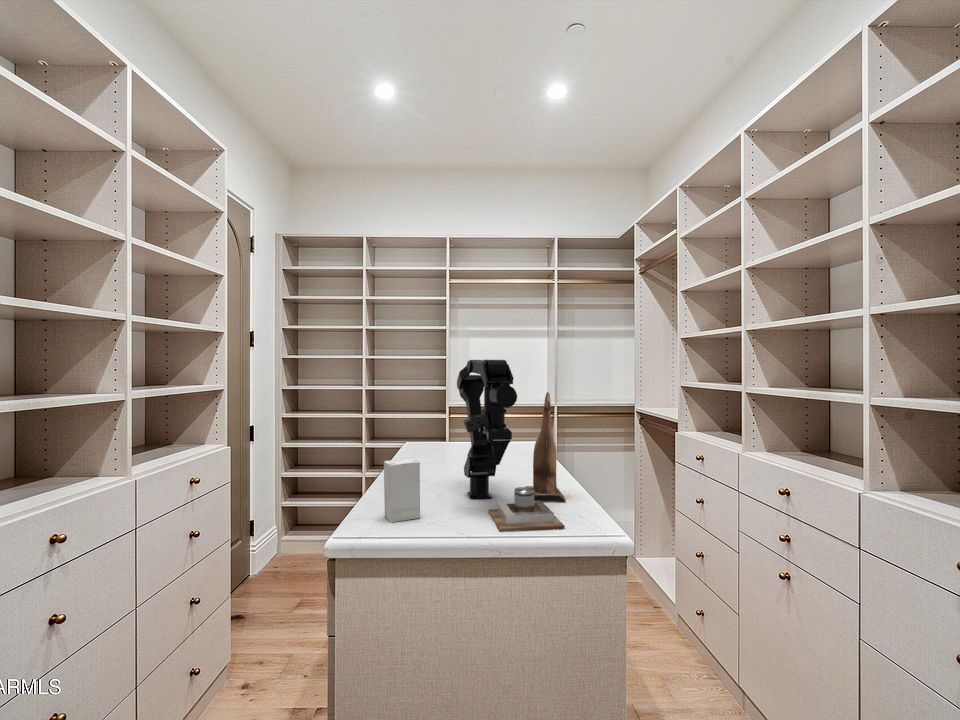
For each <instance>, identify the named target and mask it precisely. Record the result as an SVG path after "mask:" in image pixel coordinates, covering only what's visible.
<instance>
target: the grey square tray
mask: <svg viewBox="0 0 960 720" xmlns="http://www.w3.org/2000/svg"><path fill="white" fill-rule="evenodd" d="M496 509H497V512H498V513H499V515H500V517H501V518H502V520H503V521H504V523H505V525H530V524H554V516H555V513H554V512H553V511H552V510H551V509H550V508H549V506H547V505H546V504H545V503H544V502H543V501H542V500H534V512H521V513H515V501H497V504H496Z"/></svg>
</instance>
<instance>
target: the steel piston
mask: <svg viewBox="0 0 960 720" xmlns="http://www.w3.org/2000/svg"><path fill="white" fill-rule="evenodd" d="M513 493H514V502H515V513H521V512H534V501H535V496H534V489H533V488H528V487H526V486H522V487H521V486H520V487H515V488H514V491H513Z"/></svg>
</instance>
